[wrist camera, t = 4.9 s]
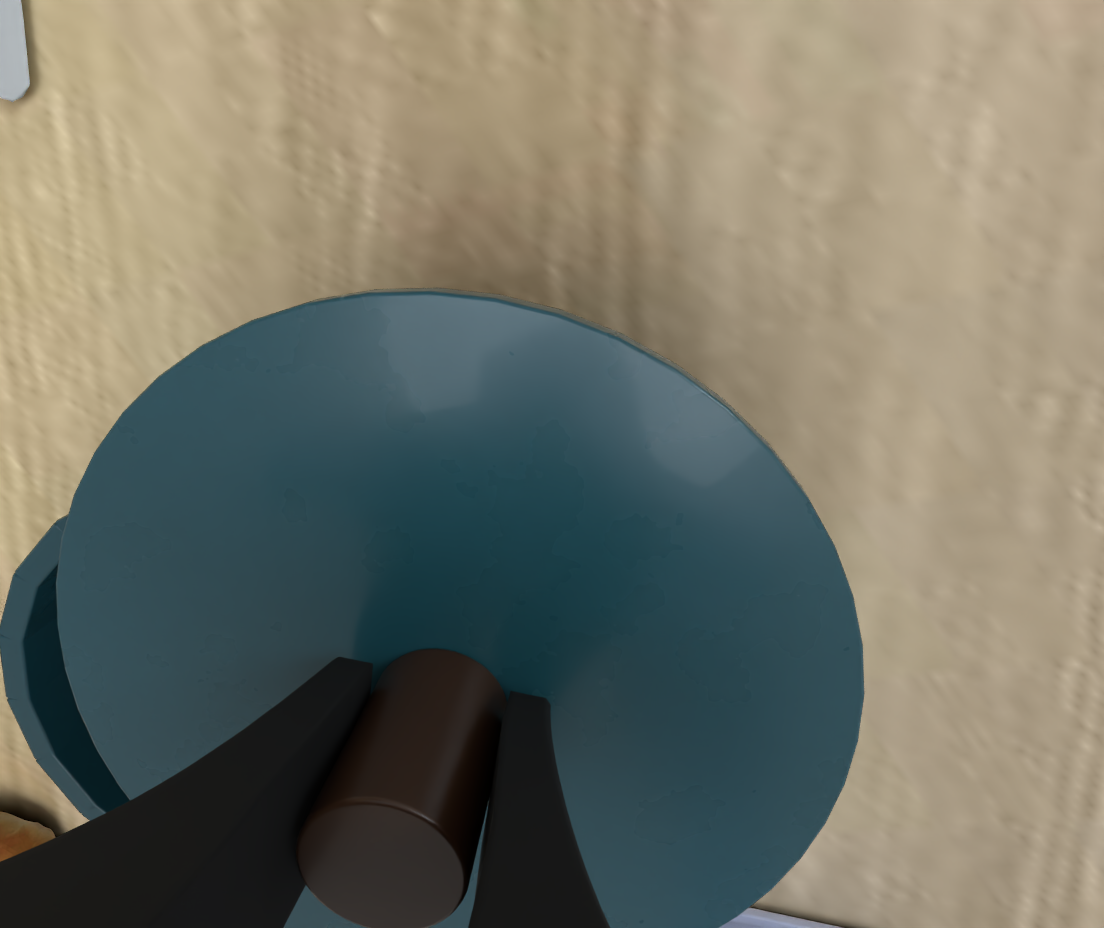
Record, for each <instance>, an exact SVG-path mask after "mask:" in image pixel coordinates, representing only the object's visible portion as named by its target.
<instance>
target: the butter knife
mask: <svg viewBox="0 0 1104 928" xmlns="http://www.w3.org/2000/svg"><path fill="white" fill-rule="evenodd" d="M29 86H30V80H29V70H28V60H27V50H26V39H25V29H24V20H23V12H22V4H21V0H0V97H1V98H2V99H7V100H9V101H11V102H13V101H15V100H17V99H19V98H21V97H23V96H24V94H25V93H26V91H27V89H28V88H29Z"/></svg>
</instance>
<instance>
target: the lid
mask: <svg viewBox="0 0 1104 928" xmlns="http://www.w3.org/2000/svg"><path fill="white" fill-rule="evenodd" d="M56 592H57V625H58V631H59V637H60V643H61V648H62V654H63V660H64V665H65V670H66V673H67V676H68V679H69V682H70V686H71V689H72V692H73V695H74V698H75V701H76V704H77V707H78V710H79V713H80V715H81V717H82V719H83V721H84V723H85V725H86V728H87V730H88V732H89V734H90V736H91V738H92V740H93V743H94V745H95V747H96V749H97V751H98V752H99V754H100V756H101V757H102V759H103V760H104V762H105V764H106V765H107V767H108V769H109V770H110V772H111V773H112V775H113V777H114V778H115V780H116V782H117V783H118V785H119V786H120V788H121V789H122V790H123V792H124V793H125V794H126V795H127V797H128V798H129V799H130V800H132V799H134V798H136V797H137V796H139V795H141V794H143V793H144V792H146V791H148V790H150V789H152V788H153V787H155V786H157V785H159V784H160V783H162V782H164V781H165V780H167V779H169V778H170V777H172V776H174V775H175V774H177V773H178V772H180V771H182V770H183V769H185V768H186V767H188V766H190V765H191V764H193V763H194V762H196V761H197V760H199V759H200V758H202V757H203V756H205V755H206V754H208V753H209V752H211V751H212V750H214V749H215V748H217V747H218V746H220V745H221V744H223V743H224V742H226V741H227V740H229V739H230V738H232V737H233V736H235V735H236V734H237V733H239V732H240V731H242V730H243V729H244V728H246V727H247V726H248V725H250V724H251V723H253V722H254V721H255V720H257V719H258V718H259V717H261V716H262V715H263V714H265V713H266V712H267V711H269V710H270V709H271V708H273V707H274V706H275V705H277V704H278V703H279V702H281V701H282V700H283V699H285V698H286V697H287V696H288V695H290V694H291V693H292V692H294V691H295V690H296V689H297V688H299V687H300V686H301V685H302V684H304V683H305V682H306V681H307V680H309V679H310V678H311V677H312V676H314V675H315V674H316V673H317V672H319V671H320V670H321V669H322V668H324V667H325V666H326V665H327V664H329V663H330V662H331V661H332V660H334V659H336V658H337V657H344V658H349V659H354V660H359V661H364V662H369V663H373V670H372V682H371V694H370V697H369V699H368V701H367V703H366V705H365V707H364V709H363V711H362V713H361V715H360V717H359V718H358V720H357V722H356V724H355V726H354V728H353V730H352V732H351V734H350V736H349V738H348V739H347V741H346V743H345V745H344V747H343V749H342V751H341V753H340V755H339V757H338V759H337V761H336V762H335V764H334V766H333V768H332V770H331V772H330V774H329V776H328V778H327V780H326V782H325V783H324V785H323V787H322V789H321V791H320V793H319V795H318V797H317V799H316V801H315V803H314V805H313V806H312V808H311V810H310V812H309V814H308V816H307V818H306V820H305V822H304V824H303V826H302V828H301V829H300V832H299V835H298V838H297V844H296V860H297V865H298V869H299V872H300V874H301V877H302V879H303V880H304V882H305V884H306V886H305V888H304V890H303V891H302V893H301V895H300V897H299V899H298V901H297V903H296V905H295V907H294V909H293V910H292V912H291V914H290V916H289V918H288V920H287V922H286V924H285V926H284V928H468V926H469V922H470V918H471V913H472V909H473V905H474V900H475V893H476V885H477V877H478V869H479V862H480V854H481V846H482V839H483V833H484V827H485V821H486V815H487V809H488V803H489V798H490V793H491V788H492V781H493V774H494V768H495V762H496V756H497V750H498V744H499V738H500V732H501V726H502V720H503V716H504V712H505V709H506V705H507V702H508V698H509V695H510V691H514V692H519V693H524V694H529V695H534V696H539V697H544V698H546V699H547V700H548V702H549V703H550V704H551V713H550V714H551V731H552V740H553V746H554V753H555V759H556V764H557V769H558V774H559V778H560V782H561V786H562V791H563V795H564V799H565V803H566V807H567V811H568V814H569V818H570V821H571V825H572V828H573V831H574V834H575V837H576V841H577V844H578V847H579V850H580V853H581V856H582V859H583V862H584V864H585V867H586V870H587V873H588V875H589V878H590V881H591V883H592V886H593V888H594V891H595V893H596V896H597V898H598V901H599V903H600V906H601V908H602V910H603V913H604V915H605V917H606V919H607V922H608V924H609V926H610V928H719V927H721V926H723V925H724V924H726V923H728V922H729V921H731V920H733V919H734V918H736V917H738V916H739V915H740V914H741V913H743V912H744V911H745V910H746V909H748V908H749V907H750V906H751V905H753V904H754V903H755V902H756V901H758V900H759V899H760V898H761V897H763V896H764V895H765V894H766V893H768V892H769V891H770V890H771V889H772V888H773V887H774V886H775V885H776V884H777V883H778V882H779V881H780V880H781V879H782V878H783V877H784V876H785V875H786V873H787V872H788V871H789V870H790V869H791V868H792V867H793V866H794V865H795V864H796V863H797V862H798V861H799V860H800V859H801V857H802V856H803V854H804V853H805V852H806V850H807V849H808V847H809V846H810V844H811V843H812V842H813V840H814V839H815V837H816V836H817V834H818V833H819V832H820V830H821V829H822V827H823V826H824V824H825V823H826V821H827V819H828V817H829V815H830V813H831V811H832V809H833V807H834V805H835V803H836V801H837V799H838V797H839V794H840V792H841V790H842V788H843V786H844V784H845V781H846V778H847V775H848V771H849V768H850V765H851V762H852V758H853V755H854V752H855V749H856V745H857V742H858V736H859V729H860V722H861V714H862V707H863V699H864V669H863V644H862V639H861V634H860V629H859V624H858V618H857V613H856V608H855V603H854V598H853V594H852V592H851V589H850V586H849V583H848V581H847V578H846V575H845V572H844V570H843V567H842V564H841V562H840V559H839V556H838V553H837V551H836V548H835V545H834V544H833V542H832V540H831V538H830V536H829V535H828V533H827V531H826V529H825V527H824V525H823V524H822V522H821V520H820V518H819V516H818V515H817V513H816V511H815V509H814V507H813V506H812V504H811V502H810V500H809V498H808V497H807V495H806V493H805V492H804V490H803V488H802V487H801V485H800V484H799V483H798V481H797V480H796V479H795V478H794V476H793V475H792V474H791V472H790V471H789V470H788V468H787V467H786V466H785V464H784V463H783V462H782V460H781V459H780V458H779V457H778V455H777V454H776V453H775V451H774V450H773V449H772V447H771V446H770V445H769V443H768V442H767V441H766V440H765V439H764V438H763V437H762V436H761V435H760V434H759V433H758V432H757V431H756V430H755V429H754V428H753V427H752V426H751V425H750V424H749V423H748V422H747V421H746V420H745V419H744V418H743V417H741V416H740V415H739V414H738V413H737V412H736V411H735V410H734V409H733V408H732V407H731V406H730V405H729V404H728V403H727V402H726V401H725V400H724V399H723V398H721V397H720V396H719V395H717V394H716V393H715V392H713V391H712V390H711V389H709V388H708V387H707V386H705V385H704V384H702V383H701V382H700V381H698V380H697V379H696V378H694V377H693V376H692V375H690V374H689V373H688V372H686V371H685V370H684V369H682V368H681V367H680V366H678V365H677V364H676V363H674V362H672V361H670V360H668V359H667V358H665V357H663V356H661V355H659V354H658V353H656V352H654V351H652V350H650V349H649V348H647V347H645V346H643V345H641V344H640V343H638V342H636V341H634V340H632V339H631V338H629V337H627V336H625V335H623V334H622V333H619V332H617V331H614V330H612V329H609V328H607V327H604V326H602V325H599V324H596V323H594V322H591V321H589V320H586V319H584V318H581V317H579V316H576V315H574V314H571V313H568V312H566V311H563V310H561V309H556V308H552V307H548V306H544V305H540V304H536V303H532V302H528V301H524V300H520V299H516V298H512V297H508V296H504V295H500V294H491V293H482V292H473V291H464V290H455V289H445V288H404V289H374V290H369V291H363V292H357V293H351V294H345V295H339V296H333V297H327V298H321V299H316V300H313V301H310V302H307V303H304V304H301V305H298V306H295V307H291V308H288V309H285V310H282V311H279V312H276V313H273V314H270V315H267V316H264V317H261V318H257V319H254V320H251V321H249V322H247V323H245V324H243V325H241V326H239V327H237V328H235V329H233V330H231V331H229V332H227V333H225V334H223V335H221V336H219V337H217V338H215V339H213V340H211V341H209V342H208V343H206V344H204V345H202V346H200V347H199V348H197V349H196V350H195V351H193V352H192V353H190V354H189V355H188V356H186V357H185V358H184V359H182V360H181V361H179V362H178V363H177V364H175V365H174V366H172V367H171V368H170V369H168V370H167V371H165V372H164V373H163V374H161V375H160V376H159V377H158V378H157V379H156V380H155V381H154V382H153V383H152V384H151V385H150V386H149V387H148V388H147V389H146V390H145V391H144V392H143V393H142V394H141V395H140V396H139V397H138V398H137V399H136V400H135V401H134V402H133V403H132V404H131V405H130V406H129V407H128V408H127V409H126V410H125V411H124V412H123V413H122V414H121V416H120V417H119V419H118V420H117V421H116V423H115V424H114V426H113V427H112V428H111V430H110V431H109V433H108V434H107V436H106V437H105V438H104V440H103V441H102V443H101V444H100V445H99V447H98V448H97V450H96V451H95V453H94V455H93V457H92V459H91V461H90V463H89V465H88V467H87V469H86V471H85V473H84V476H83V478H82V480H81V482H80V484H79V486H78V488H77V490H76V492H75V494H74V497H73V501H72V504H71V508H70V511H69V514H68V518H67V521H66V525H65V528H64V532H63V535H62V539H61V547H60V555H59V563H58V572H57V580H56Z"/></svg>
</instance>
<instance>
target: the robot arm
mask: <svg viewBox="0 0 1104 928" xmlns="http://www.w3.org/2000/svg"><path fill="white" fill-rule="evenodd" d="M372 670H373V663H369V662H364V661H359V660H354V659H349V658H344V657H337V658H336V659H334V660H332V661H331V662H330V663H329V664H327V665H326V666H325V667H324V668H322V669H321V670H320V671H319V672H317V673H316V674H315V675H314V676H312V677H311V678H310V679H309V680H307V681H306V682H305V683H304V684H302V685H301V686H300V687H299V688H297V689H296V690H295V691H294V692H292V693H291V694H290V695H288V696H287V697H286V698H285V699H283V700H282V701H281V702H279V703H278V704H277V705H275V706H274V707H273V708H271V709H270V710H269V711H267V712H266V713H265V714H263V715H262V716H261V717H259V718H258V719H257V720H255V721H254V722H253V723H251V724H250V725H248V726H247V727H246V728H244V729H243V730H242V731H240V732H239V733H237V734H236V735H235V736H233V737H232V738H230V739H229V740H227V741H226V742H224V743H223V744H221V745H220V746H218V747H217V748H215V749H214V750H212V751H211V752H209V753H208V754H206V755H205V756H203V757H202V758H200V759H199V760H197V761H196V762H194V763H193V764H191V765H190V766H188V767H186V768H185V769H183V770H182V771H180V772H178V773H177V774H175V775H174V776H172V777H170V778H169V779H167V780H165V781H164V782H162V783H160V784H159V785H157V786H155V787H153V788H152V789H150V790H148V791H146V792H144V793H143V794H141V795H139V796H137V797H136V798H134V799H132V800H130V801H128V802H127V803H125V804H123V805H121V806H119V807H117V808H115V809H113V810H111V811H109V812H107V813H105V814H103V815H101V816H99V817H97V818H95V819H93V820H91V821H89V822H87V823H85V824H83V825H80V826H78V827H76V828H74V829H72V830H70V831H68V832H66V833H64V834H62V835H60V836H58V837H56V838H54V839H52V840H49V841H47V842H45V843H43V844H40V845H38V846H36V847H33V848H31V849H29V850H27V851H24V852H22V853H20V854H17V855H15V856H13V857H10V858H8V859H5V860H3V861H1V862H0V928H284V926H285V924H286V922H287V920H288V918H289V916H290V914H291V912H292V910H293V909H294V907H295V905H296V903H297V901H298V899H299V897H300V895H301V893H302V891H303V890H304V888H305V886H306V884H305V882H304V880H303V879H302V877H301V874H300V872H299V869H298V865H297V860H296V844H297V838H298V835H299V832H300V829H301V828H302V826H303V824H304V822H305V820H306V818H307V816H308V814H309V812H310V810H311V808H312V806H313V805H314V803H315V801H316V799H317V797H318V795H319V793H320V791H321V789H322V787H323V785H324V783H325V782H326V780H327V778H328V776H329V774H330V772H331V770H332V768H333V766H334V764H335V762H336V761H337V759H338V757H339V755H340V753H341V751H342V749H343V747H344V745H345V743H346V741H347V739H348V738H349V736H350V734H351V732H352V730H353V728H354V726H355V724H356V722H357V720H358V718H359V717H360V715H361V713H362V711H363V709H364V707H365V705H366V703H367V701H368V699H369V697H370V694H371V682H372ZM550 713H551V704H550V703H549V702H548V700H547V699H546V698H544V697H539V696H534V695H529V694H524V693H519V692H514V691H510V695H509V698H508V702H507V705H506V709H505V712H504V716H503V720H502V726H501V732H500V738H499V744H498V750H497V756H496V762H495V768H494V774H493V781H492V788H491V793H490V798H489V803H488V809H487V815H486V821H485V827H484V833H483V839H482V846H481V854H480V862H479V869H478V877H477V885H476V893H475V900H474V905H473V909H472V913H471V918H470V922H469V926H468V928H610V926H609V924H608V922H607V919H606V917H605V915H604V913H603V910H602V908H601V906H600V903H599V901H598V898H597V896H596V893H595V891H594V888H593V886H592V883H591V881H590V878H589V875H588V873H587V870H586V867H585V864H584V862H583V859H582V856H581V853H580V850H579V847H578V844H577V841H576V837H575V834H574V831H573V828H572V825H571V821H570V818H569V814H568V811H567V807H566V803H565V799H564V795H563V791H562V786H561V782H560V778H559V774H558V769H557V764H556V759H555V753H554V746H553V740H552V731H551V714H550ZM719 928H843V927H838V926H833V925H829V924H824V923H819V922H815V921H810V920H805V919H801V918H796V917H791V916H787V915H782V914H777V913H773V912H768V911H763V910H759V909H754V908H748V909H746V910H745V911H744V912H743V913H741V914H740V915H739V916H738V917H736V918H734V919H733V920H731V921H729V922H728V923H726V924H724V925H723V926H721V927H719Z"/></svg>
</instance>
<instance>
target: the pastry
mask: <svg viewBox="0 0 1104 928" xmlns="http://www.w3.org/2000/svg"><path fill="white" fill-rule="evenodd" d="M54 838H56V837H55V835H54V833H53V831H52V830H51V829H50V828H46V827H44V826H42V825H41V824H39V823H37V822H30V821H26V820H23V819H21V818H18V817H16V816H14V815H11V814H8V813H5V812H0V862H1V861H3V860H5V859H8V858H10V857H13V856H15V855H17V854H20V853H22V852H24V851H27V850H29V849H31V848H33V847H36V846H38V845H40V844H43V843H45V842H47V841H49V840H52V839H54Z"/></svg>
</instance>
